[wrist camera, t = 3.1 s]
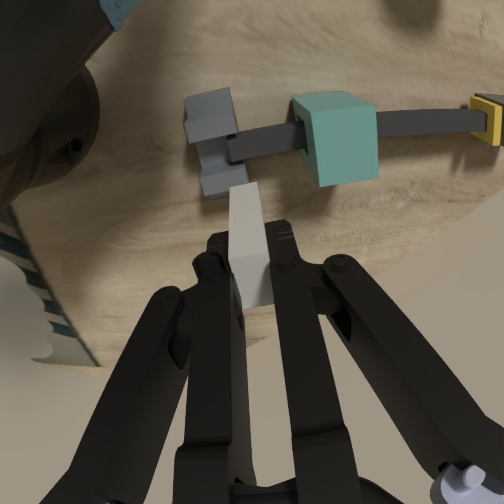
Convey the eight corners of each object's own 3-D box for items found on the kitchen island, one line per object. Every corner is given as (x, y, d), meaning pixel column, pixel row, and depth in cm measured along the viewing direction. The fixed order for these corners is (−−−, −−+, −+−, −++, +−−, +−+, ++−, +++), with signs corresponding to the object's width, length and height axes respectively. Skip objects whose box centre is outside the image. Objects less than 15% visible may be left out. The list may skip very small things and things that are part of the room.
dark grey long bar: (234, 162, 30) (235, 179, 26) (224, 119, 27) (223, 130, 24) (506, 132, 27) (529, 144, 24) (508, 99, 25) (532, 109, 21)
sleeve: (300, 154, 31) (319, 187, 24) (291, 96, 27) (310, 112, 21) (347, 147, 30) (378, 177, 24) (342, 90, 27) (375, 105, 20)
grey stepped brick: (212, 188, 33) (209, 211, 29) (187, 97, 27) (178, 105, 23) (250, 180, 32) (252, 202, 28) (229, 87, 27) (228, 93, 23)
